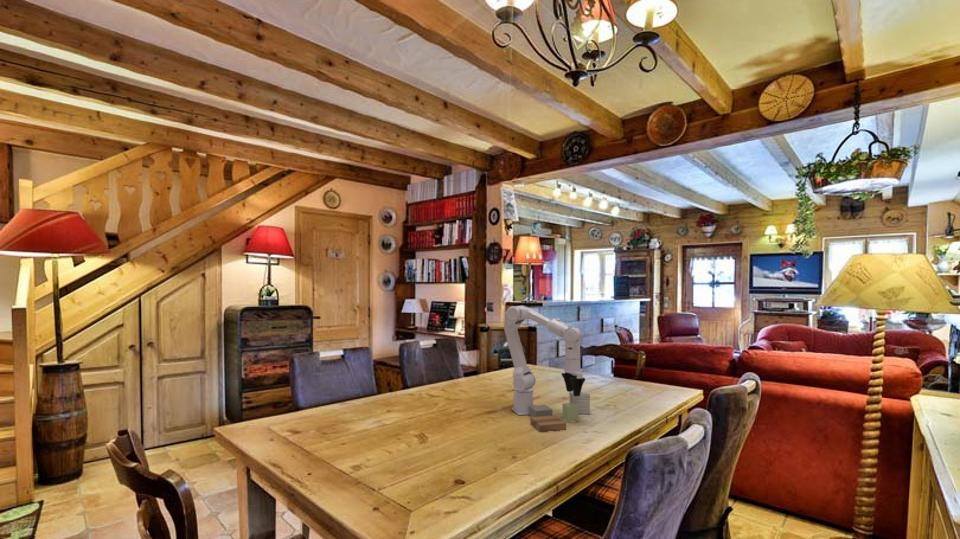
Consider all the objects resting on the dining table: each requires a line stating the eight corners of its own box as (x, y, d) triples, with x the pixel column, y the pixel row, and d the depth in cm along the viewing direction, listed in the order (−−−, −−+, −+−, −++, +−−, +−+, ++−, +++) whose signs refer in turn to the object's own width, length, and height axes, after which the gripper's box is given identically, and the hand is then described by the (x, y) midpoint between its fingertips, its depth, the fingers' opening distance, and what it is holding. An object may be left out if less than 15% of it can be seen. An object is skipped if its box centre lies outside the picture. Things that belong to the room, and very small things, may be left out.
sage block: (562, 418, 173) (562, 403, 173) (573, 418, 174) (573, 402, 175) (567, 422, 169) (567, 406, 169) (578, 421, 170) (578, 405, 170)
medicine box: (588, 411, 183) (588, 390, 183) (590, 414, 179) (590, 393, 179) (569, 411, 184) (569, 390, 184) (570, 414, 179) (570, 392, 180)
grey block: (529, 416, 177) (529, 406, 178) (545, 414, 179) (545, 404, 179) (535, 421, 171) (535, 410, 171) (552, 419, 172) (552, 409, 173)
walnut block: (530, 425, 166) (530, 417, 167) (554, 423, 169) (554, 415, 169) (540, 433, 157) (540, 425, 157) (566, 431, 159) (566, 423, 159)
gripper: (589, 361, 165) (590, 397, 165) (575, 355, 179) (576, 389, 179) (572, 361, 164) (572, 398, 163) (559, 356, 178) (559, 389, 178)
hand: (573, 393), depth 171 cm, fingers open, 7 cm apart
